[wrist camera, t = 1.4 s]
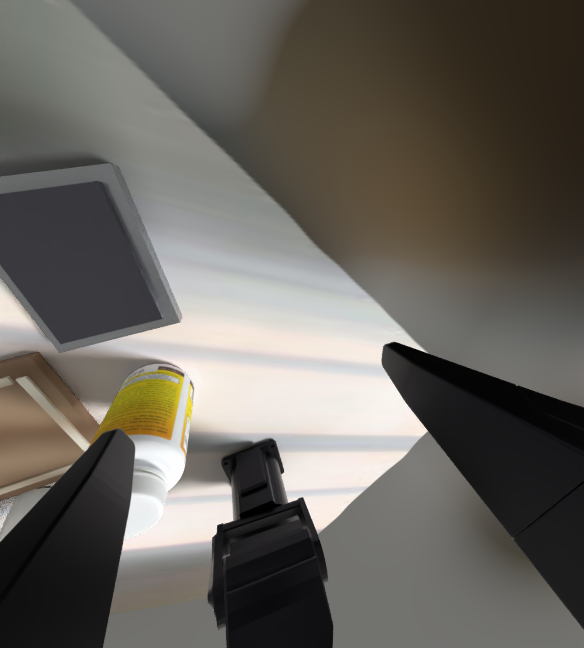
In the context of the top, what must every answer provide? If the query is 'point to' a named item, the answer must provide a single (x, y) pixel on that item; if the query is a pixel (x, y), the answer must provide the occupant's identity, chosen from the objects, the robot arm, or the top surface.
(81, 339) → the pad
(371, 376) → the top surface
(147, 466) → the supplement bottle
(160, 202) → the top surface
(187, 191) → the top surface
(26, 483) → the brown flat square
